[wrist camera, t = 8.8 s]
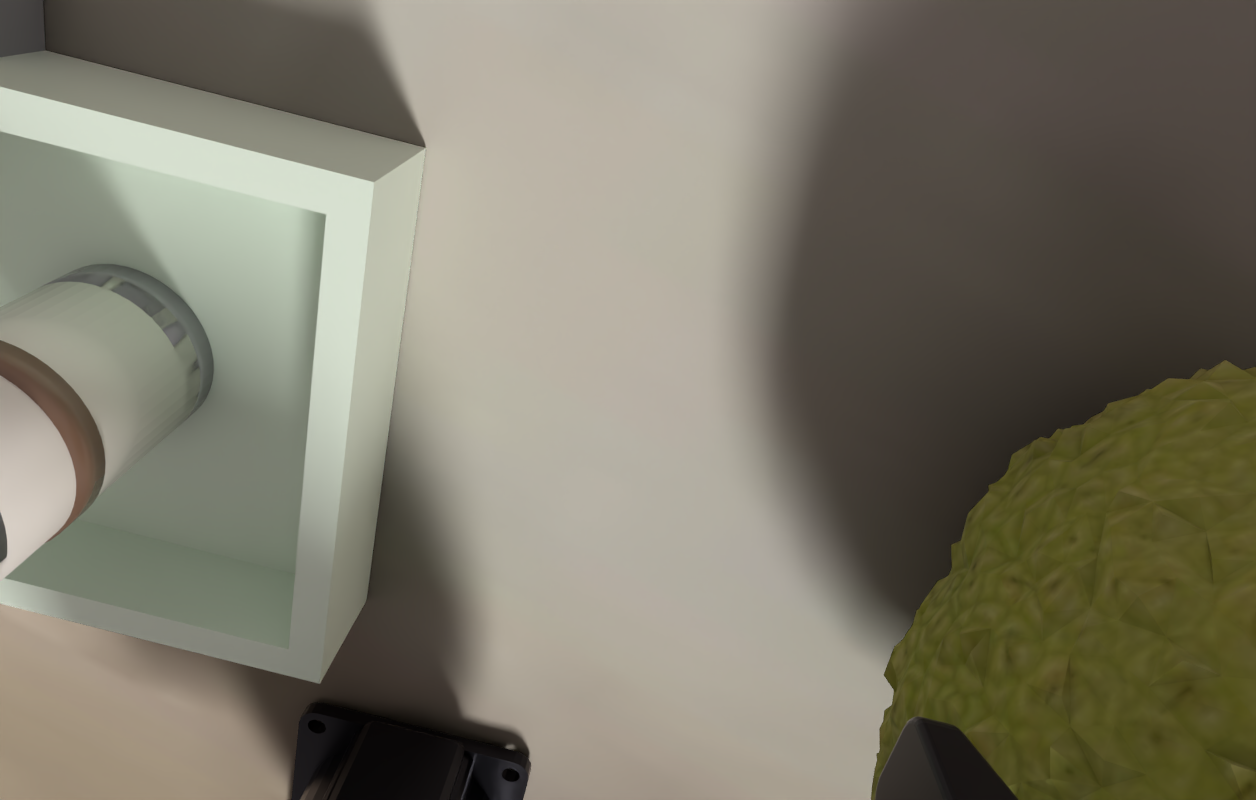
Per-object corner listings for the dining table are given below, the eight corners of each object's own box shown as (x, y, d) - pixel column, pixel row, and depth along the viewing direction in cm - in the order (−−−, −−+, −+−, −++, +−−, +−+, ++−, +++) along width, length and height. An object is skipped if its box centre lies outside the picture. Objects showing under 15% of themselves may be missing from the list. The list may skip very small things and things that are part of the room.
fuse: (213, 447, 22) (-33, 685, 15) (45, 404, 22) (-281, 622, 15) (218, 287, 21) (-58, 473, 13) (34, 241, 21) (-340, 402, 13)
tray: (366, 600, 25) (319, 683, 22) (-82, 487, 25) (-186, 557, 22) (426, 147, 19) (374, 182, 17) (-146, 1, 19) (-295, 11, 17)
